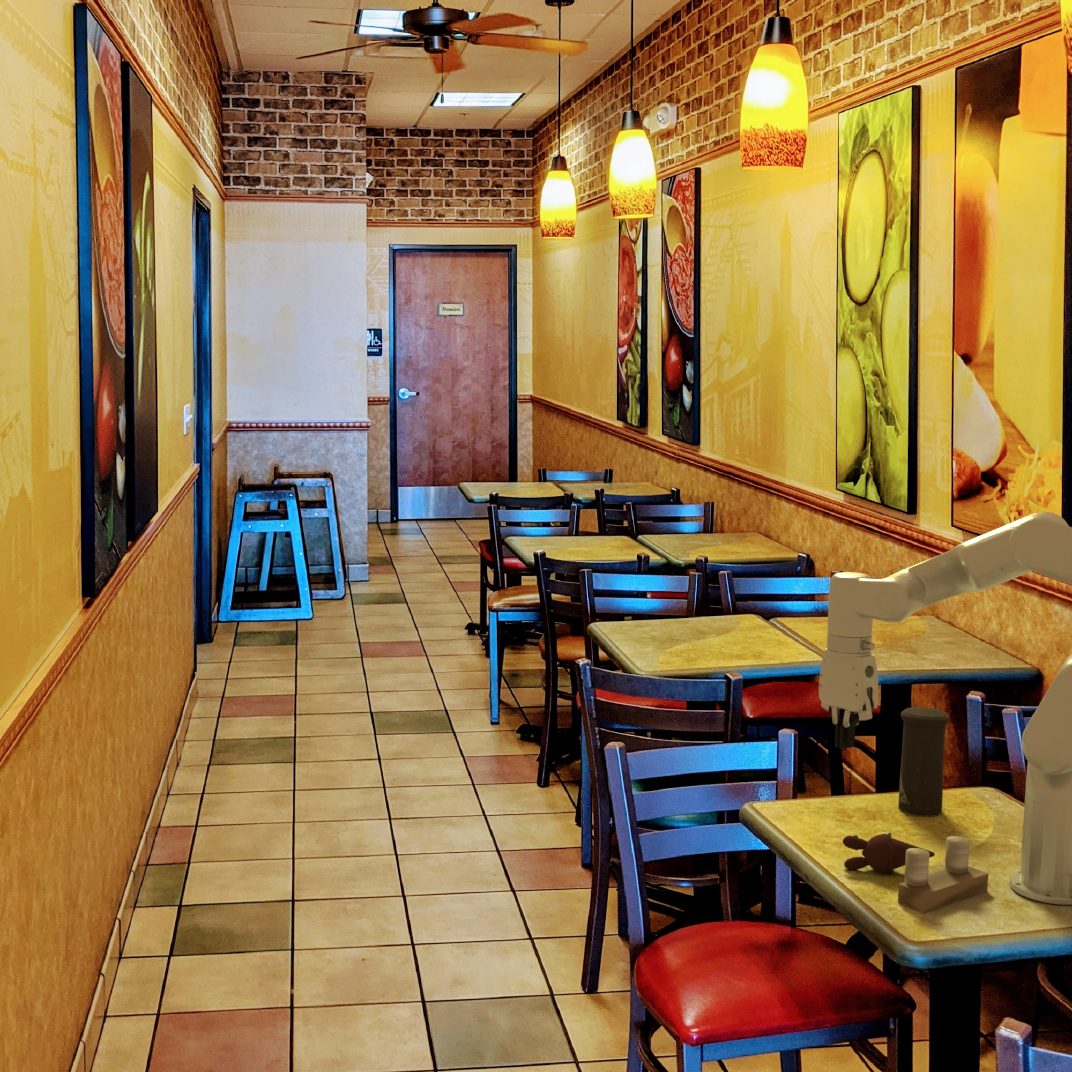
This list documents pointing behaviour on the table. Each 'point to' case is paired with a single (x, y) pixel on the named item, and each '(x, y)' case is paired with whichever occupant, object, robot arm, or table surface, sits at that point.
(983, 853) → the table surface
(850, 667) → the robot arm
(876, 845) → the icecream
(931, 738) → the container
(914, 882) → the rail
